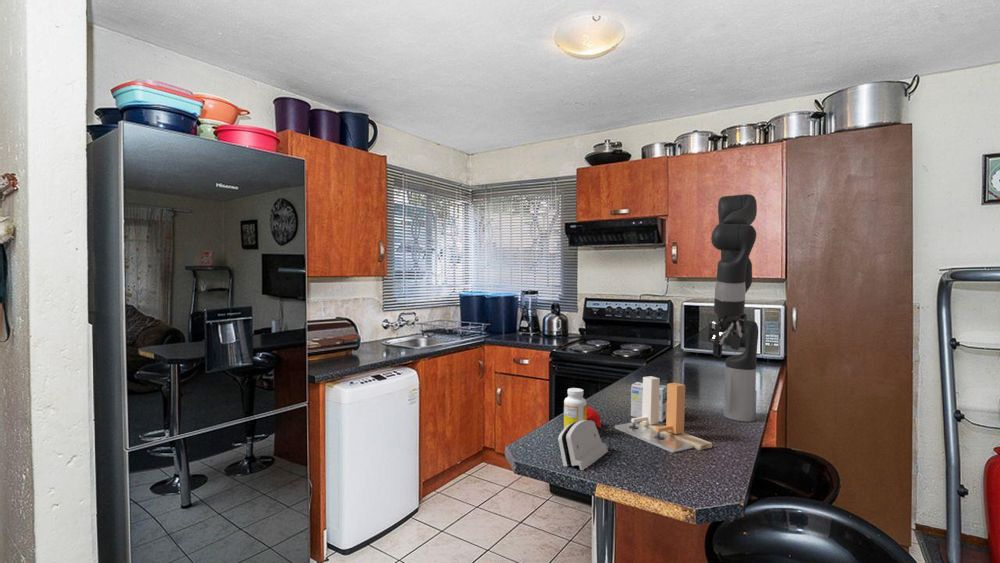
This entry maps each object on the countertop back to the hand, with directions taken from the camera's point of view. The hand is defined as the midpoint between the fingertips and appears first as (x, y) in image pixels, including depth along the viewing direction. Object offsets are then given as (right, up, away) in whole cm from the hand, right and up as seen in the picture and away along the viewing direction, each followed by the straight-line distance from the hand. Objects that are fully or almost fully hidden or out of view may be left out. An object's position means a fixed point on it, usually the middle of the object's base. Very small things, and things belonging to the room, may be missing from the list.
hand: (726, 352), depth 129 cm
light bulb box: (-14, -26, +25) cm, 38 cm away
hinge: (-43, -26, -11) cm, 51 cm away
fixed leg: (-19, -24, +13) cm, 34 cm away
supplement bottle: (-42, -25, +7) cm, 49 cm away
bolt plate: (-20, -26, +5) cm, 33 cm away
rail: (-13, -26, +6) cm, 29 cm away
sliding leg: (-15, -24, +4) cm, 29 cm away
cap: (-36, -25, +14) cm, 46 cm away
